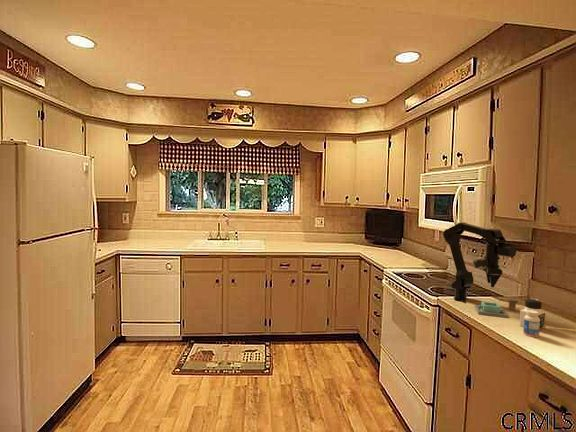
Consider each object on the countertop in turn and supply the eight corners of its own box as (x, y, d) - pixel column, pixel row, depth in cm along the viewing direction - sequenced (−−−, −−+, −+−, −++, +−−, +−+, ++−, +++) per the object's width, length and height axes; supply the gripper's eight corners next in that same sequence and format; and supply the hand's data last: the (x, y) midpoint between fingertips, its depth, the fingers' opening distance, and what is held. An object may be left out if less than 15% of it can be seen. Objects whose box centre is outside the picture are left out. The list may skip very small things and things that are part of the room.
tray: (474, 308, 187) (474, 304, 187) (501, 311, 183) (501, 307, 183) (478, 315, 176) (478, 311, 176) (507, 319, 172) (507, 315, 172)
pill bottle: (522, 331, 157) (523, 308, 156) (537, 333, 155) (538, 310, 154) (524, 335, 152) (526, 312, 151) (540, 338, 150) (541, 314, 149)
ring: (496, 311, 182) (497, 303, 181) (500, 315, 175) (500, 307, 175) (477, 309, 184) (477, 301, 184) (479, 313, 178) (480, 305, 178)
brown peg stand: (501, 307, 189) (501, 297, 189) (519, 309, 187) (519, 299, 187) (504, 312, 182) (505, 301, 182) (523, 314, 179) (524, 303, 179)
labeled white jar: (537, 331, 158) (539, 303, 157) (519, 325, 163) (520, 298, 163) (544, 327, 162) (546, 300, 161) (526, 322, 168) (527, 296, 167)
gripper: (471, 250, 197) (470, 279, 198) (477, 255, 180) (475, 287, 181) (495, 251, 194) (493, 281, 195) (503, 257, 176) (501, 290, 177)
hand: (490, 285), depth 187 cm, fingers open, 9 cm apart
